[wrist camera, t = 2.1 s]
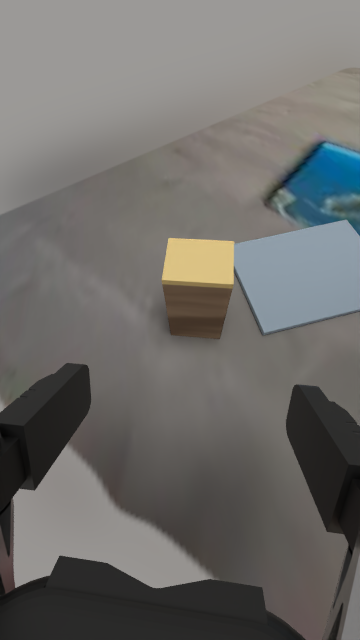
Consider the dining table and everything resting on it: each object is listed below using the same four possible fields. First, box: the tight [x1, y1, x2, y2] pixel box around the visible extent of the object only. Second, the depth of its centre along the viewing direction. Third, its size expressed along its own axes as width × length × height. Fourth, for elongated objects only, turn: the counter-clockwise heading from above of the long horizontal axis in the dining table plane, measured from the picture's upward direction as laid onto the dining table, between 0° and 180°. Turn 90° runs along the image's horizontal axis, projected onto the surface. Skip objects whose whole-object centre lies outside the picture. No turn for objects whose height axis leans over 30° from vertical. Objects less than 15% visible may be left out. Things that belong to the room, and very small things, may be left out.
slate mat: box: [234, 220, 360, 335], centre depth 29 cm, size 16×12×1 cm
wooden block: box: [162, 238, 234, 339], centre depth 23 cm, size 4×5×10 cm
